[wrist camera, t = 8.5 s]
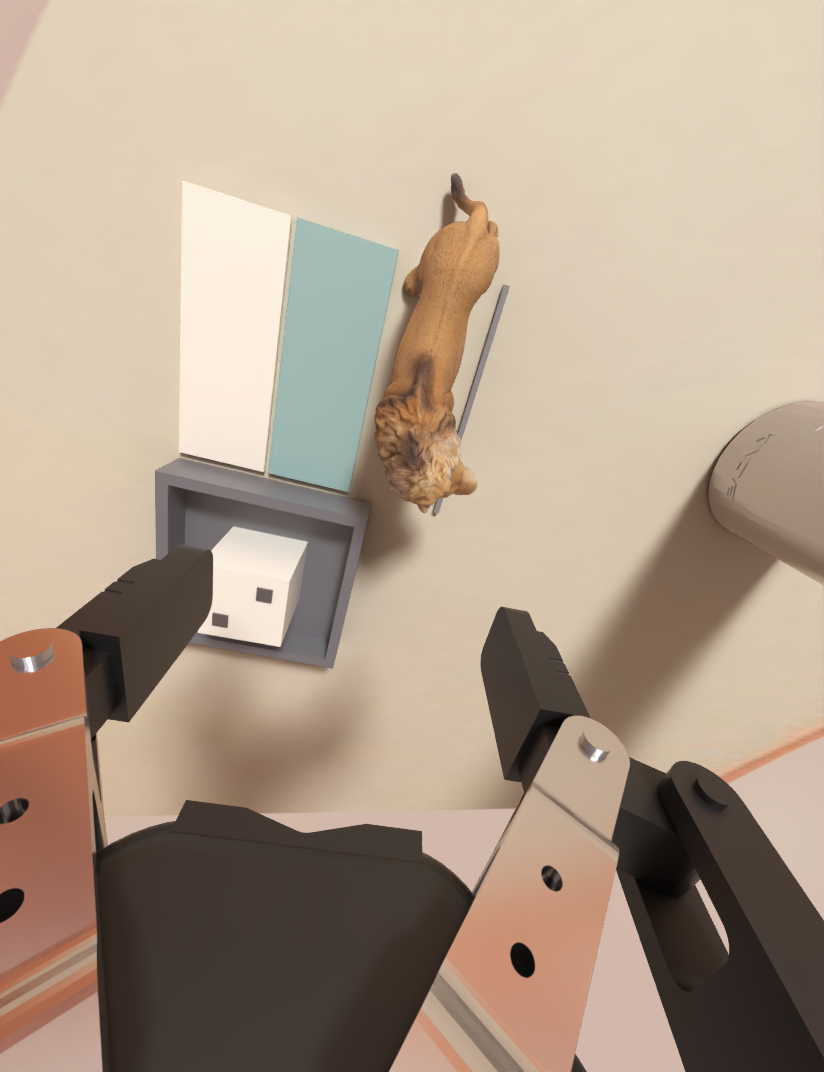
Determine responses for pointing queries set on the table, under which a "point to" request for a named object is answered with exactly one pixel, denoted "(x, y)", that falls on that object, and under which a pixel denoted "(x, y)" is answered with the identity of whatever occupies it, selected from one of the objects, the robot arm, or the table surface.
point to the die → (255, 586)
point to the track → (254, 331)
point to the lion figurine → (435, 359)
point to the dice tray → (280, 509)
